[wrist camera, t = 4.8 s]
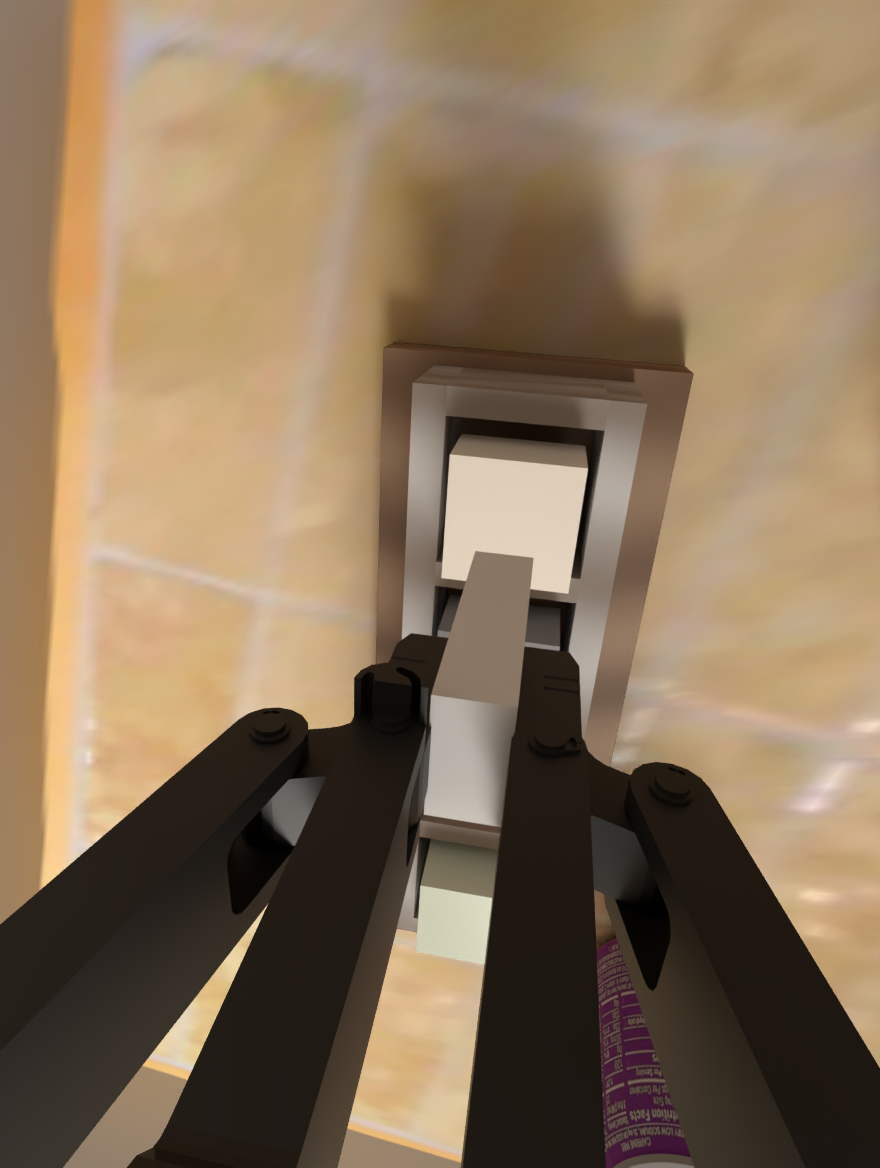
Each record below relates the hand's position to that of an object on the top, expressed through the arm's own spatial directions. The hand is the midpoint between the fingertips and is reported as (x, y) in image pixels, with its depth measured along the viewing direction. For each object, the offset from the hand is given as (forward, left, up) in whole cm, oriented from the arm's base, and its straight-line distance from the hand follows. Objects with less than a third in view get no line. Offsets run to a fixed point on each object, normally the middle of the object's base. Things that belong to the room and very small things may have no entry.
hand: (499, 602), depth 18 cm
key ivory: (0, 0, -8) cm, 8 cm away
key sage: (+19, 0, -8) cm, 21 cm away
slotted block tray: (+9, 0, -14) cm, 17 cm away
